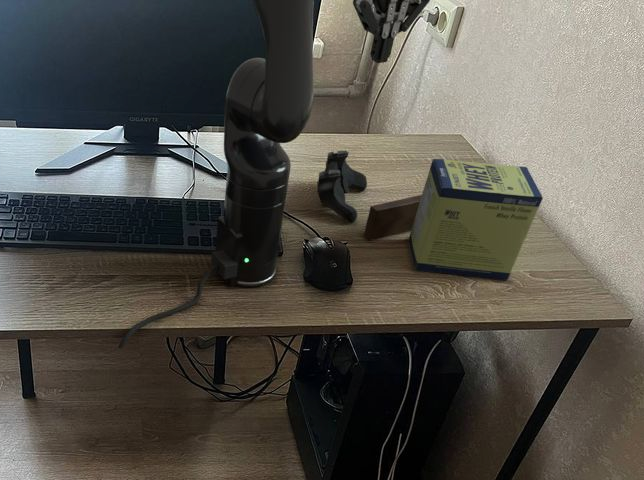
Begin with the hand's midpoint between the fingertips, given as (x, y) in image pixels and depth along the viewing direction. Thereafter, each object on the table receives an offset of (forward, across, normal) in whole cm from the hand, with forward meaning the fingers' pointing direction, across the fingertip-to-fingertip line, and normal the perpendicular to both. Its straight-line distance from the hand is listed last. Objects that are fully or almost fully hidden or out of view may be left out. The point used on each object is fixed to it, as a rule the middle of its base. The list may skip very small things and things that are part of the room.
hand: (378, 61), depth 109 cm
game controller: (+29, -4, -7) cm, 30 cm away
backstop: (+29, -11, +6) cm, 31 cm away
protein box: (+29, -12, +17) cm, 36 cm away
